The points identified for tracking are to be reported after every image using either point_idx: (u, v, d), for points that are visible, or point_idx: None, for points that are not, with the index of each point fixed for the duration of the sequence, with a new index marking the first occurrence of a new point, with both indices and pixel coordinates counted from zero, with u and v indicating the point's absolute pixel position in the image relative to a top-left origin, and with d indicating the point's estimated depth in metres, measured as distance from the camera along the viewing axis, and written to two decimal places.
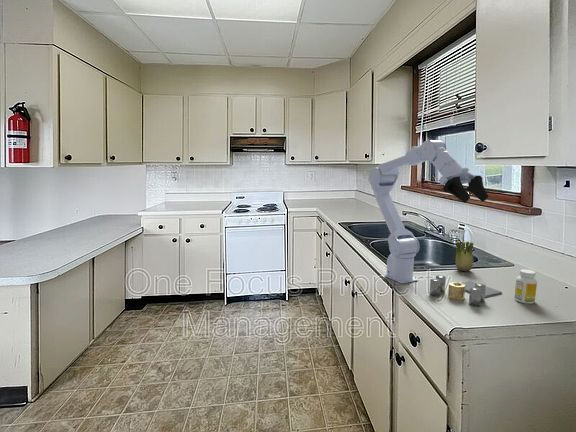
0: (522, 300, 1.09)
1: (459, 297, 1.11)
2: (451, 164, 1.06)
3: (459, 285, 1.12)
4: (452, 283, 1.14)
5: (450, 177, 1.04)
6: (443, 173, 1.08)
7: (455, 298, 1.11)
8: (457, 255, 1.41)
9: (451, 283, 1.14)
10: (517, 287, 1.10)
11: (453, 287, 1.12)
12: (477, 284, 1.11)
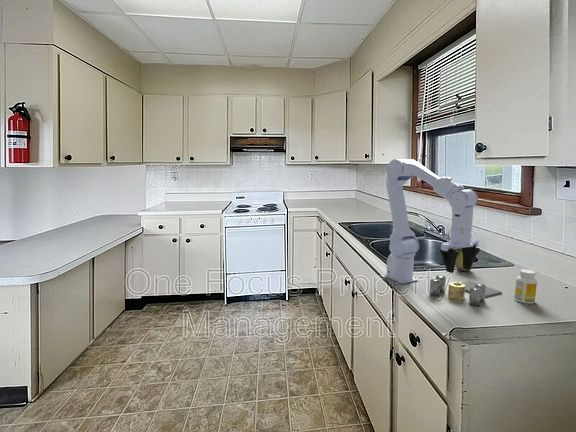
0: (522, 300, 1.09)
1: (459, 297, 1.11)
2: (463, 233, 1.08)
3: (459, 285, 1.12)
4: (452, 283, 1.14)
5: None
6: (452, 232, 1.10)
7: (455, 298, 1.11)
8: None
9: (451, 283, 1.14)
10: (517, 287, 1.10)
11: (453, 287, 1.12)
12: (477, 284, 1.11)
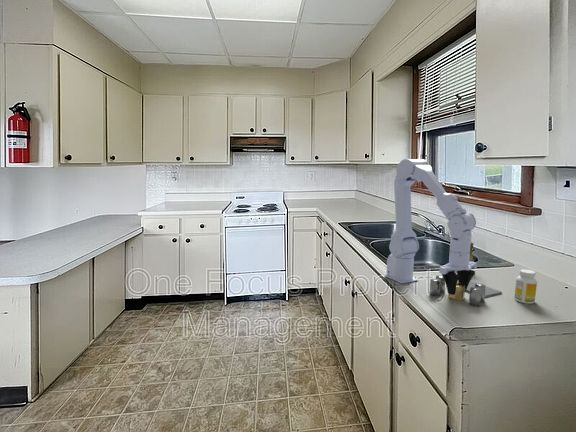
0: (522, 300, 1.09)
1: (459, 297, 1.11)
2: (462, 256, 1.09)
3: (459, 285, 1.12)
4: None
5: None
6: (450, 255, 1.11)
7: (455, 298, 1.11)
8: None
9: None
10: (517, 287, 1.10)
11: None
12: (477, 284, 1.11)
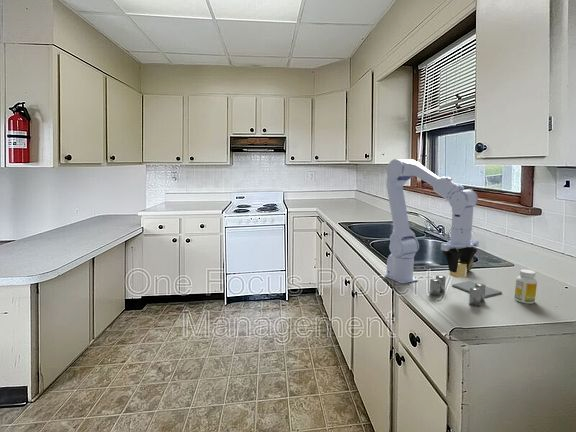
0: (522, 300, 1.09)
1: (461, 275, 1.10)
2: (463, 233, 1.08)
3: (461, 263, 1.11)
4: None
5: None
6: (452, 232, 1.10)
7: (457, 276, 1.10)
8: None
9: None
10: (517, 287, 1.10)
11: None
12: (477, 284, 1.11)
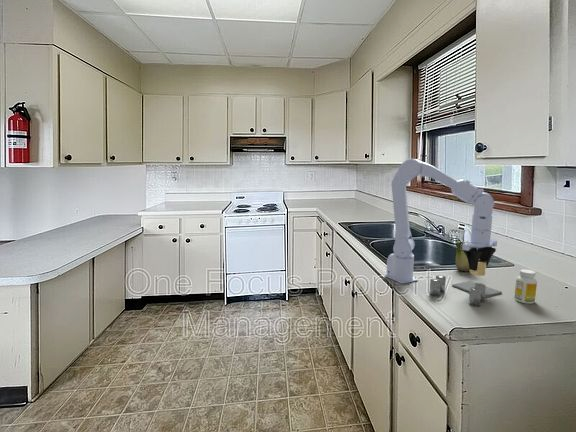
0: (522, 300, 1.09)
1: (481, 273, 1.17)
2: (483, 233, 1.15)
3: (481, 261, 1.18)
4: None
5: None
6: (472, 233, 1.17)
7: (477, 274, 1.17)
8: (457, 255, 1.41)
9: None
10: (517, 287, 1.10)
11: None
12: (477, 284, 1.11)
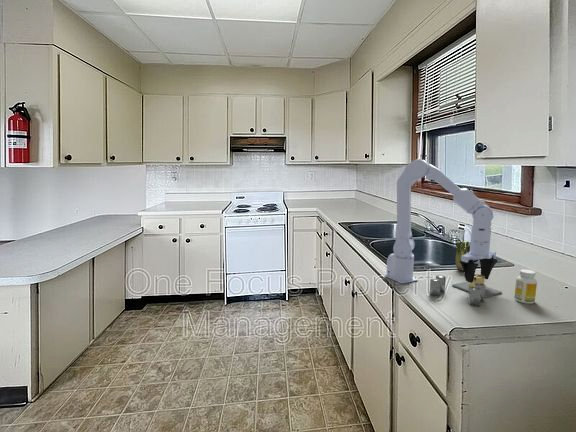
0: (522, 300, 1.09)
1: None
2: (482, 245, 1.15)
3: (479, 276, 1.18)
4: None
5: None
6: (471, 244, 1.18)
7: None
8: (457, 255, 1.41)
9: None
10: (517, 287, 1.10)
11: (474, 278, 1.18)
12: (477, 284, 1.11)
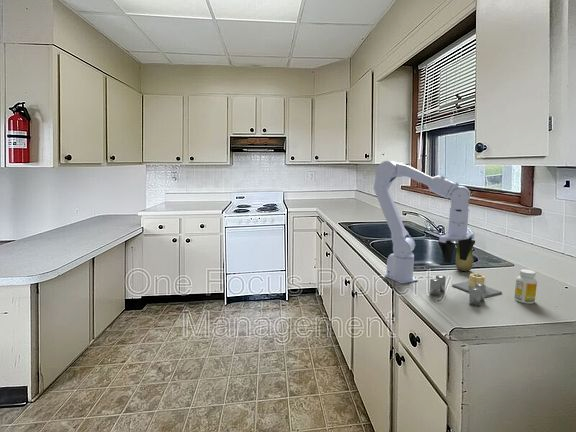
0: (522, 300, 1.09)
1: None
2: (460, 226, 1.17)
3: (479, 276, 1.18)
4: (472, 274, 1.20)
5: (450, 238, 1.17)
6: (450, 226, 1.19)
7: None
8: (457, 255, 1.41)
9: (471, 274, 1.20)
10: (517, 287, 1.10)
11: (474, 278, 1.18)
12: (477, 284, 1.11)
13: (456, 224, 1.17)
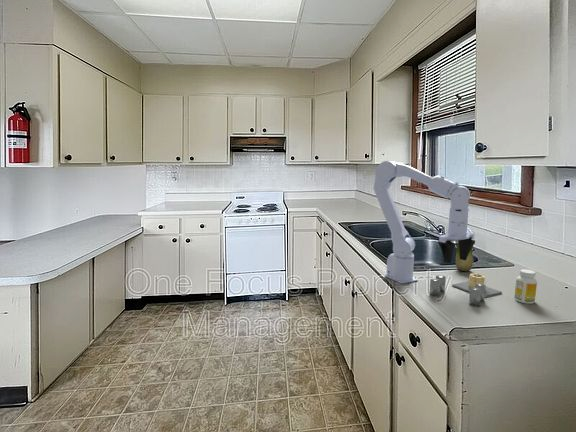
0: (522, 300, 1.09)
1: None
2: (460, 226, 1.17)
3: (479, 276, 1.18)
4: (472, 274, 1.20)
5: (450, 238, 1.17)
6: (449, 225, 1.19)
7: None
8: (457, 255, 1.41)
9: (471, 274, 1.20)
10: (517, 287, 1.10)
11: (474, 278, 1.18)
12: (477, 284, 1.11)
13: (456, 224, 1.17)
